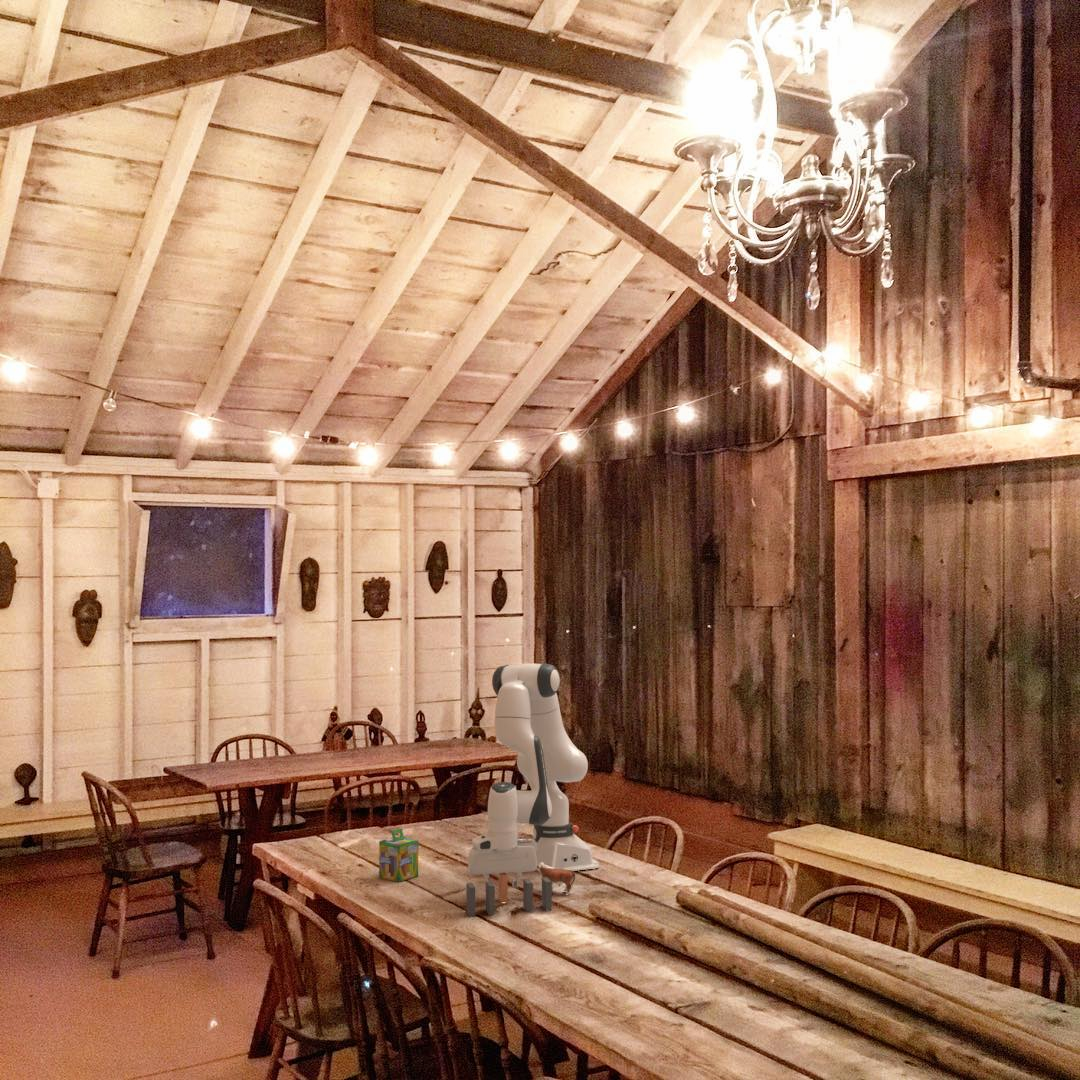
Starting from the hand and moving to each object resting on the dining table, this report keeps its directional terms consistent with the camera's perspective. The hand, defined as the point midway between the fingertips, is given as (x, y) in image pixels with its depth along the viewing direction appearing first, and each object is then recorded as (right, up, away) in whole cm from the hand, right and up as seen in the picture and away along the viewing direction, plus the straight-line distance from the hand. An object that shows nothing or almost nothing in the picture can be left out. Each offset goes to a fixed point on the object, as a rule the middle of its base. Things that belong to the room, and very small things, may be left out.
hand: (502, 887), depth 316 cm
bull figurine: (+15, -4, +9) cm, 18 cm away
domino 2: (-3, -3, -11) cm, 12 cm away
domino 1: (-8, -3, -13) cm, 16 cm away
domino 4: (+8, -3, -9) cm, 12 cm away
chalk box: (-33, -5, +25) cm, 42 cm away
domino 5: (+13, -4, -7) cm, 15 cm away
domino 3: (0, -4, 0) cm, 4 cm away
